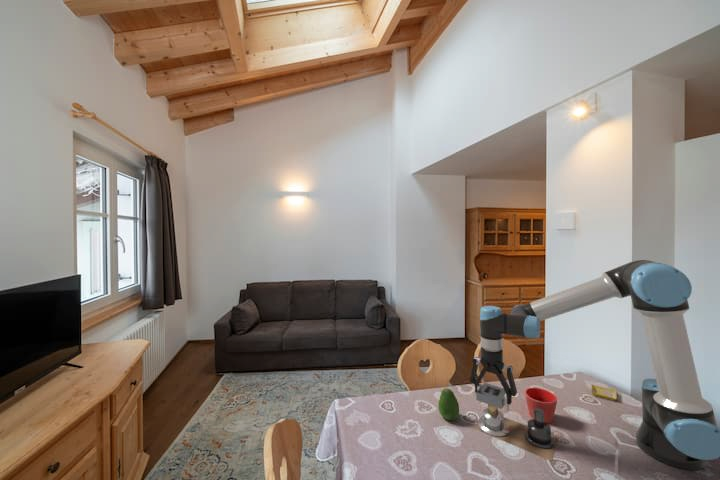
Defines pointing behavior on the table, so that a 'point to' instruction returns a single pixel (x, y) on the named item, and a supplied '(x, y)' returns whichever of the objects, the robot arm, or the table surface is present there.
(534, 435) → the stand
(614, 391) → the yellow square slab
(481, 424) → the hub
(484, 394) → the grey slotted housing
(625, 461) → the table surface
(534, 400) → the flower pot
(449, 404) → the fruit
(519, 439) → the board
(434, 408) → the table surface
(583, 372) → the table surface
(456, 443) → the table surface
